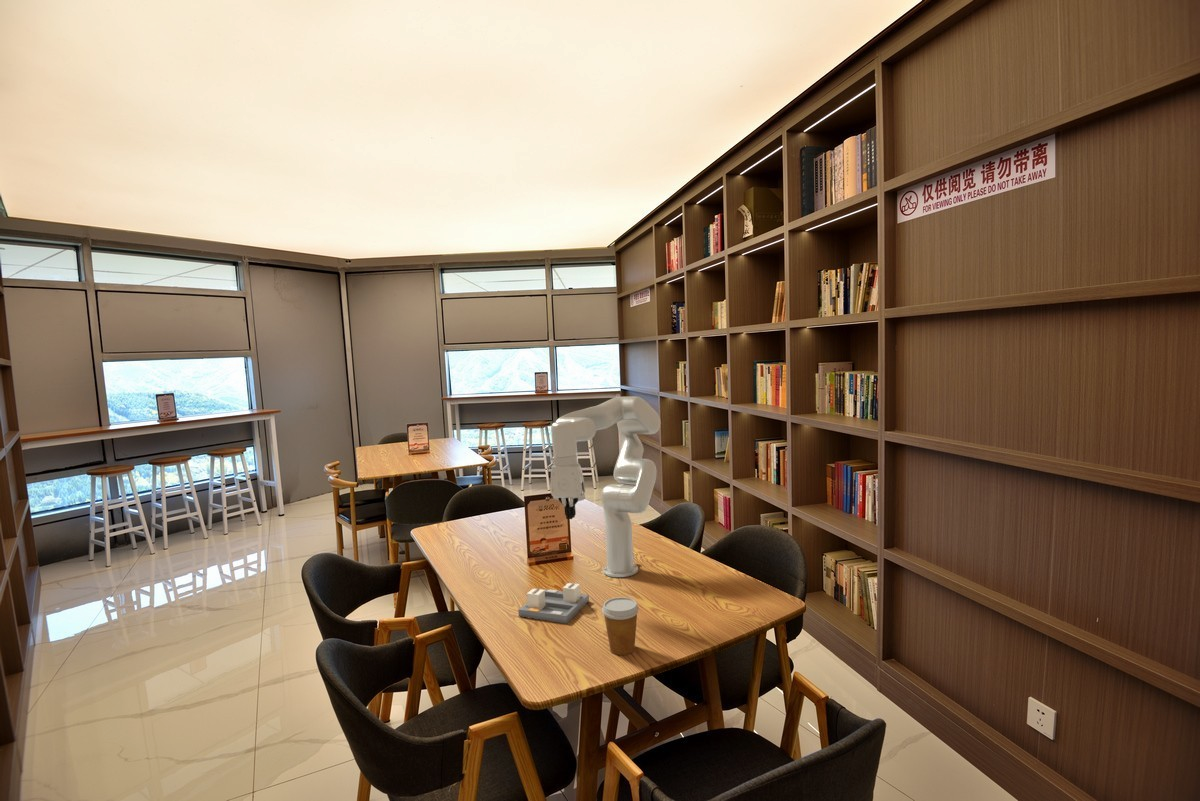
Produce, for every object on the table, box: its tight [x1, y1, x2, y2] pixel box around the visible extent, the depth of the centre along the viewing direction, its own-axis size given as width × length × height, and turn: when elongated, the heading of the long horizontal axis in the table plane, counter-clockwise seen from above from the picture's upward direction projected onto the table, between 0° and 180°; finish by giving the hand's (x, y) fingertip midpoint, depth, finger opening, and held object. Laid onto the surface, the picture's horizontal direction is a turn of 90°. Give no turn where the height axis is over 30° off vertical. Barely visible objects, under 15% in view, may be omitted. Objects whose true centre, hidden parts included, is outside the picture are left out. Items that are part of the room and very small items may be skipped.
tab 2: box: [562, 582, 581, 603], centre depth 170 cm, size 4×4×5 cm
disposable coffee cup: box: [601, 596, 640, 656], centre depth 142 cm, size 10×10×12 cm
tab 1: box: [526, 588, 546, 609], centre depth 167 cm, size 4×4×5 cm
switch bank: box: [517, 588, 590, 624], centre depth 169 cm, size 16×16×2 cm
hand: (570, 517), depth 174 cm, fingers closed
